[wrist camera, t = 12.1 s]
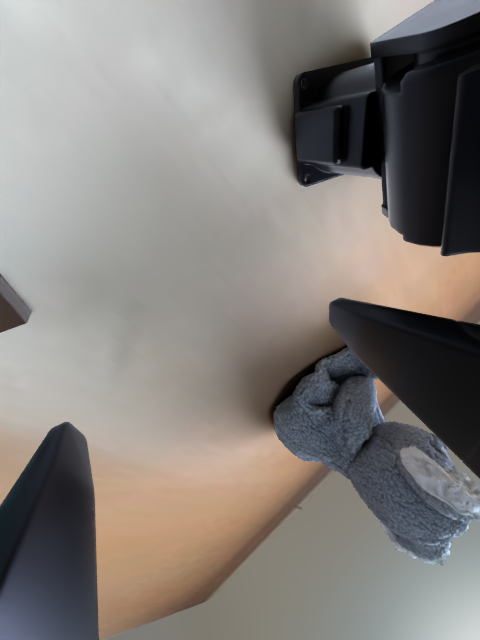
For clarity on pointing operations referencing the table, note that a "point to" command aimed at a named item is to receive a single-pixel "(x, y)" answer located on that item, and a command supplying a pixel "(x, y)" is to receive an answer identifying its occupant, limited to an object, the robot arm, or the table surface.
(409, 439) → the koala plush
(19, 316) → the brown box
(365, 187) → the table surface
